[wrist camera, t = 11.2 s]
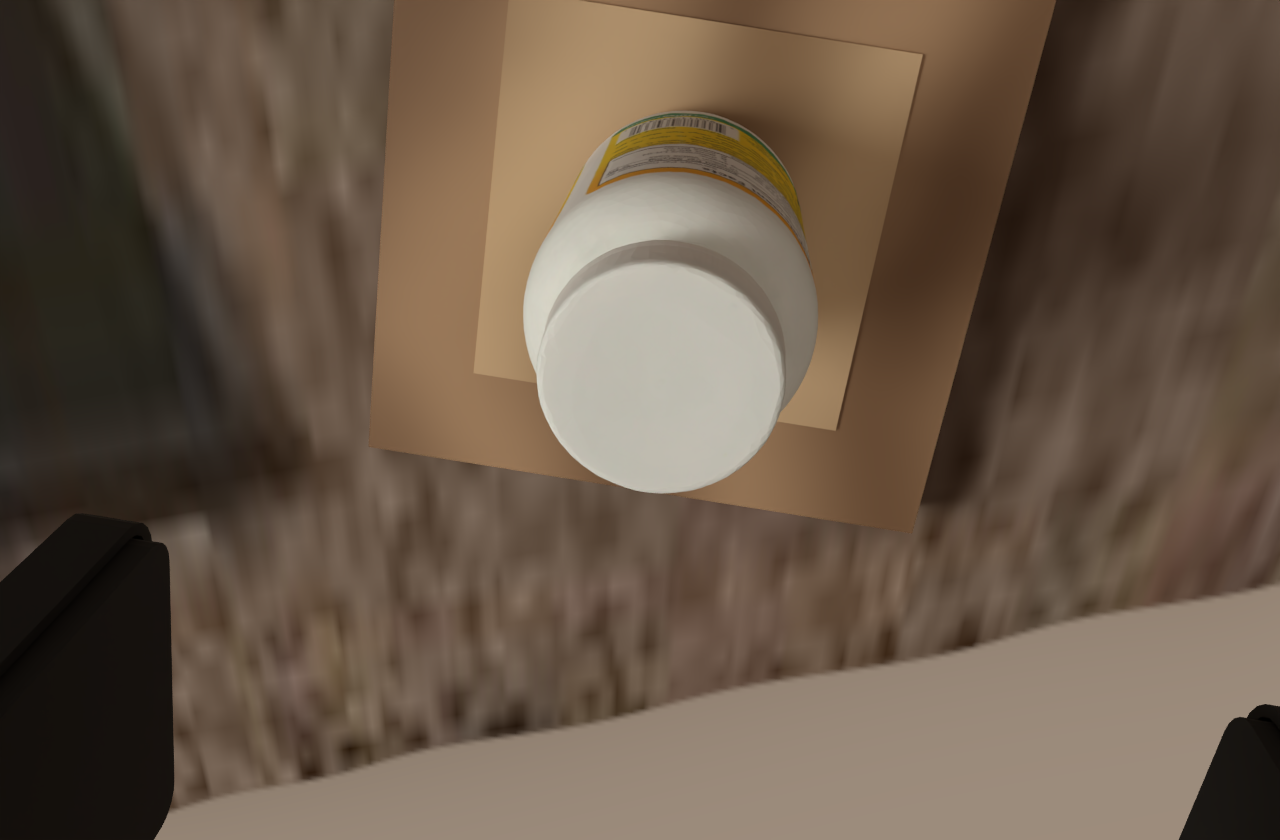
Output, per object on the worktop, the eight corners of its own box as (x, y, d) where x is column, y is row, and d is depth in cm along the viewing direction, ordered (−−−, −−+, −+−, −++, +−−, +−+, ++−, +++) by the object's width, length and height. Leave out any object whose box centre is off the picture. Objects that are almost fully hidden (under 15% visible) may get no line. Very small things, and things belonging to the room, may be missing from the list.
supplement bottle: (691, 55, 26) (673, 138, 18) (849, 233, 28) (905, 394, 19) (519, 218, 28) (424, 369, 19) (675, 378, 29) (652, 588, 21)
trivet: (1052, -54, 26) (1071, -51, 25) (904, 505, 32) (912, 534, 31) (419, -155, 26) (402, -156, 25) (383, 423, 32) (367, 447, 31)
